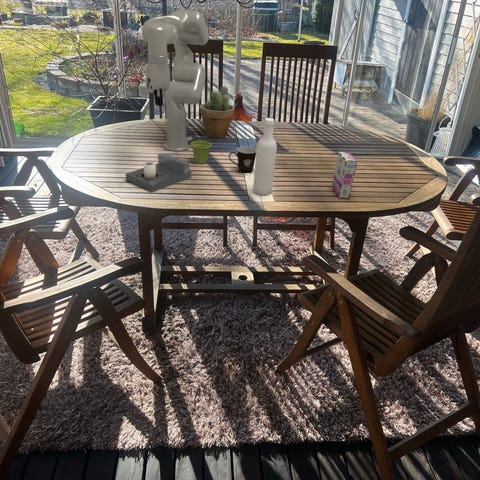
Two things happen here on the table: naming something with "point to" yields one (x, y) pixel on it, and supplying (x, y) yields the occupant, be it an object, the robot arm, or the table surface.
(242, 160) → the coffee mug
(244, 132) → the table surface
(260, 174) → the bottle
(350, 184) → the candy bar box
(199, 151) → the plant pot
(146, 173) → the bushing
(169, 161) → the jig
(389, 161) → the table surface
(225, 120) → the potted plant
